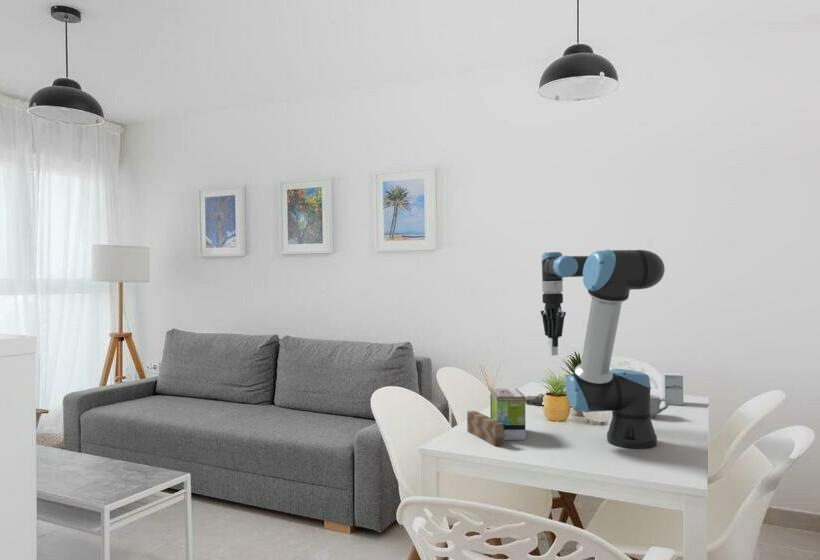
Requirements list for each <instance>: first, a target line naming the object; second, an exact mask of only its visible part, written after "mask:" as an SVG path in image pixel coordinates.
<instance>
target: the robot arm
mask: <svg viewBox="0 0 820 560" xmlns="http://www.w3.org/2000/svg"><path fill="white" fill-rule="evenodd" d="M665 269H666V268H665V263H664V261H663V260H662V258H661V257H660V256H659V255H658V254H657V253H656V252H652V251H649V250H645V249H617V250H616V249H615V250H614V249H613V250H612V249H604V250H596V251H592V253H591V254H589V255H563V254H562V252H560V251H547V252H543V253H542V255H541V276H542V279H541V281H542V282H541V284H542V285H541V286H542V287H541V288H542V289H541V290H542V291H541V292H542V304H544V310H541V311H540V315H541V318H542V323H543V325H542V326H543V330H544V336H546V337H547V338H548V347H549V348H548V349H549V350H548V351H549V356H558V355H559V348H558V347H559V338H560V337H562V336H563V329H564V322H565V317H566V311H563V310H562V306H561V304H563V303H564V295H563V291H564V289H563V288H564V286H563V281H564V278H580V277H582V282H583V285H584V287H585V289H587V294H588V295H589V296H590V297H591V302H590V307H589V314H588V320H587V326H586V333H585V339H584V342H583V349H582V350H583V351H582V356H581V361H580V364H578V365H576V366H575V368H574V372H573V373H574V374H573V375H572V374H570V375H567V377H566V379H565V382H564V384H565V394H566V397H567V398H568V401H569V403H570V405H571V406H570V407H571V409H572V410H573V411H575V412H578V413H589V412H591V413H592V412H611V415H612V417H611V420H610V423H609V428H608V430H607V432H606V441H607V442H608V443H610V444H611V445H614V446H618V447H621V448H626V449H627V448H628V449H649V448H650V449H651V448H654V447H656V446H657V445H658V436H657V434H656V433H655V427H654V425H653V423H652V419H651V418H652V417H651V406H650V395H651V389H652V387H651V379H650V377H649V375H648V374H647V373H644V372H640V371H638V370H633V369H632V370H631V369H624V368H613V369H611V370H610V367H611V362H612V356H613V352H614V346H615V341H616V335H617V330H618V325H619V319H620V315H621V308H622V304H623V303H624V302H626V301H627V300H628V299H629V295H630V292H631V290H633V291H634V290H645V289H649V288H652V287H654V286H655V285H657V284H658V283H660V282H661V280H662V279H663V277H664V274H665V271H666V270H665Z"/></svg>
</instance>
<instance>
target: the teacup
mask: <svg viewBox="0 0 820 560" xmlns="http://www.w3.org/2000/svg"><path fill="white" fill-rule="evenodd" d="M663 401H665V402H666V405H665V406H663V407H661V408H660V406H661V403H662V402H663ZM650 406H651V418H654V417H656V416H657V415H658V414H661V413H662V412H663V411H665V410H667V409H668V407H669V406H670V405H669V402H668V400H667V399H665V398H662V397H660V396H659V395H655V394H650Z"/></svg>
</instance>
